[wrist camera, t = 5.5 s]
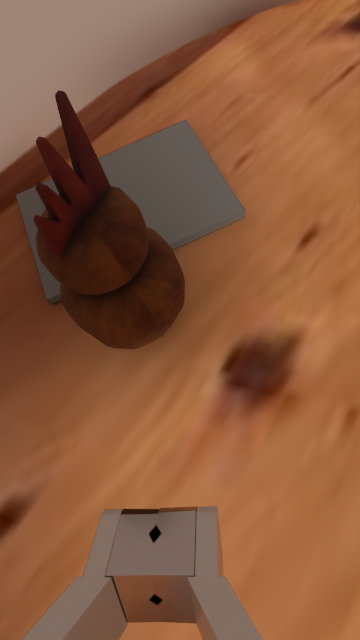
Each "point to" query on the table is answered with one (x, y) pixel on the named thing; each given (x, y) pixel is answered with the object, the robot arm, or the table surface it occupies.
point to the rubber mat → (156, 191)
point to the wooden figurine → (103, 248)
